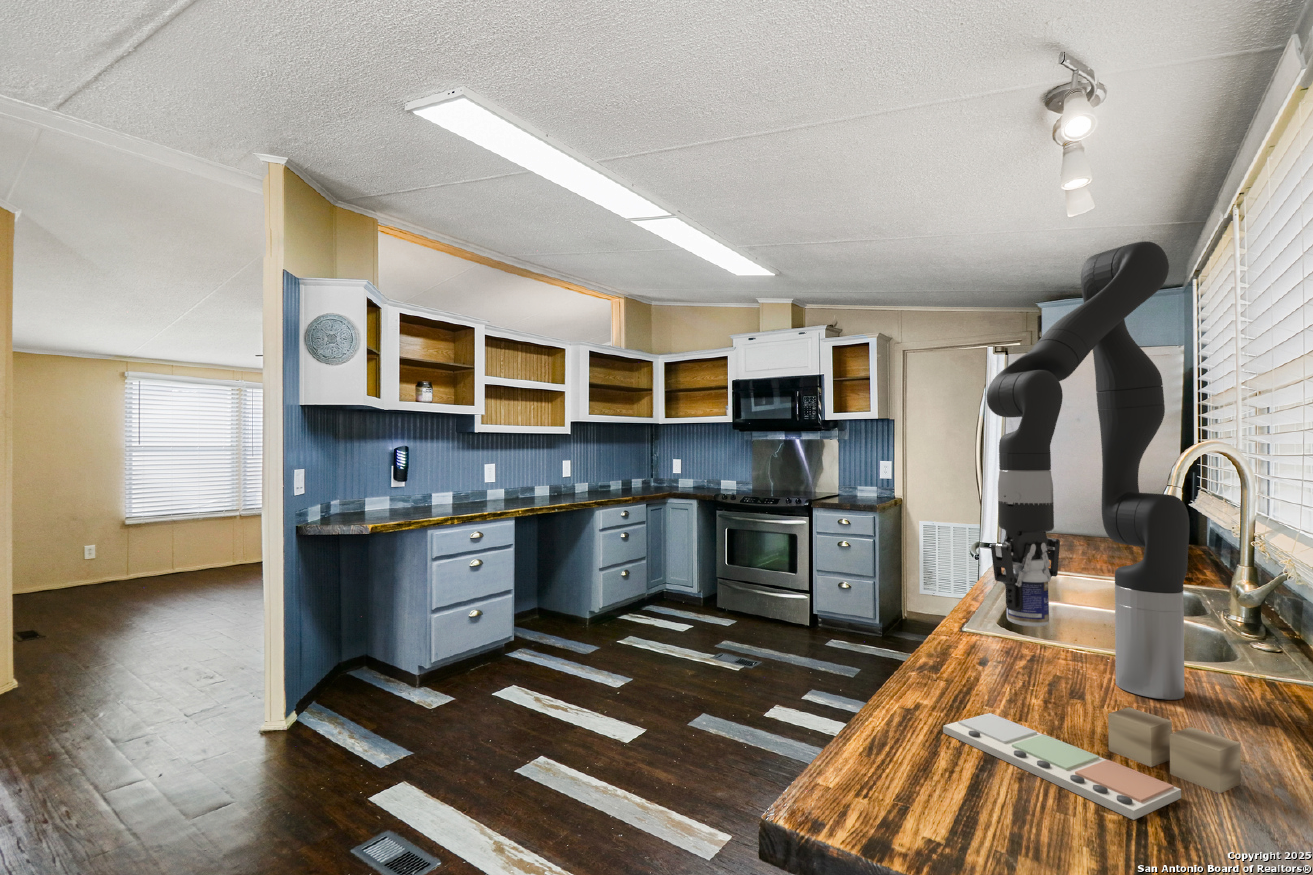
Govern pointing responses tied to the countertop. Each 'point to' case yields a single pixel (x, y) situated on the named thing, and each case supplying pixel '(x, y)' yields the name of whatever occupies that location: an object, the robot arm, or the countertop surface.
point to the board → (1066, 765)
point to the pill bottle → (1032, 597)
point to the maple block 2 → (1205, 759)
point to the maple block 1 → (1139, 736)
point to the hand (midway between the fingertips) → (1027, 606)
